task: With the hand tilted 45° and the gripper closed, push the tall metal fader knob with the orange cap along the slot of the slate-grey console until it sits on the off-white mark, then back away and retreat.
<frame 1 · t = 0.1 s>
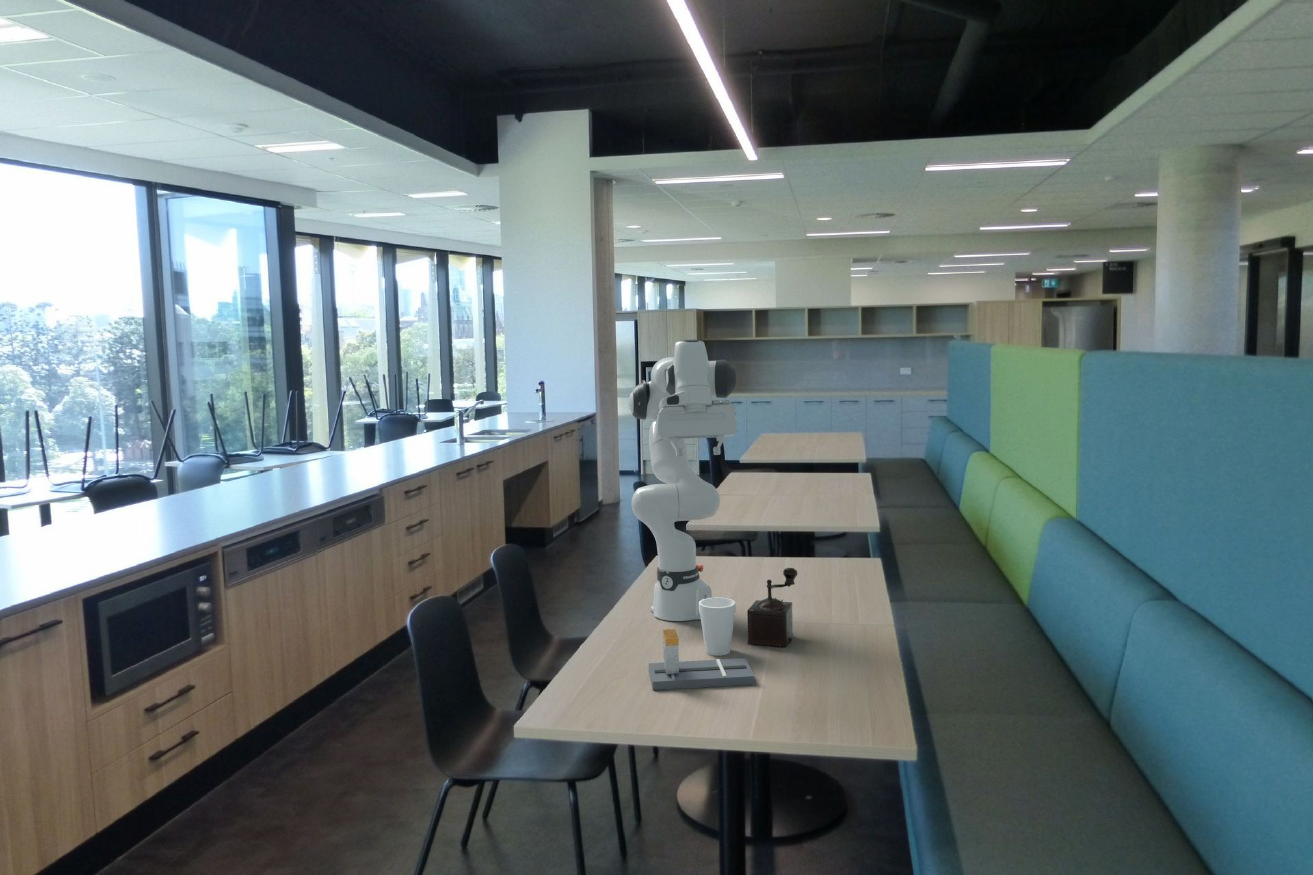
hand: (698, 455, 223), 52 cm above the table, tool tilted 20°, fingers open, 8 cm apart
fader: (670, 651, 215), point 7 cm above the table, slide at -7.0 cm
console: (700, 677, 216), on the table
manual coffee grinder: (773, 637, 244), on the table
foam cup: (717, 652, 234), on the table
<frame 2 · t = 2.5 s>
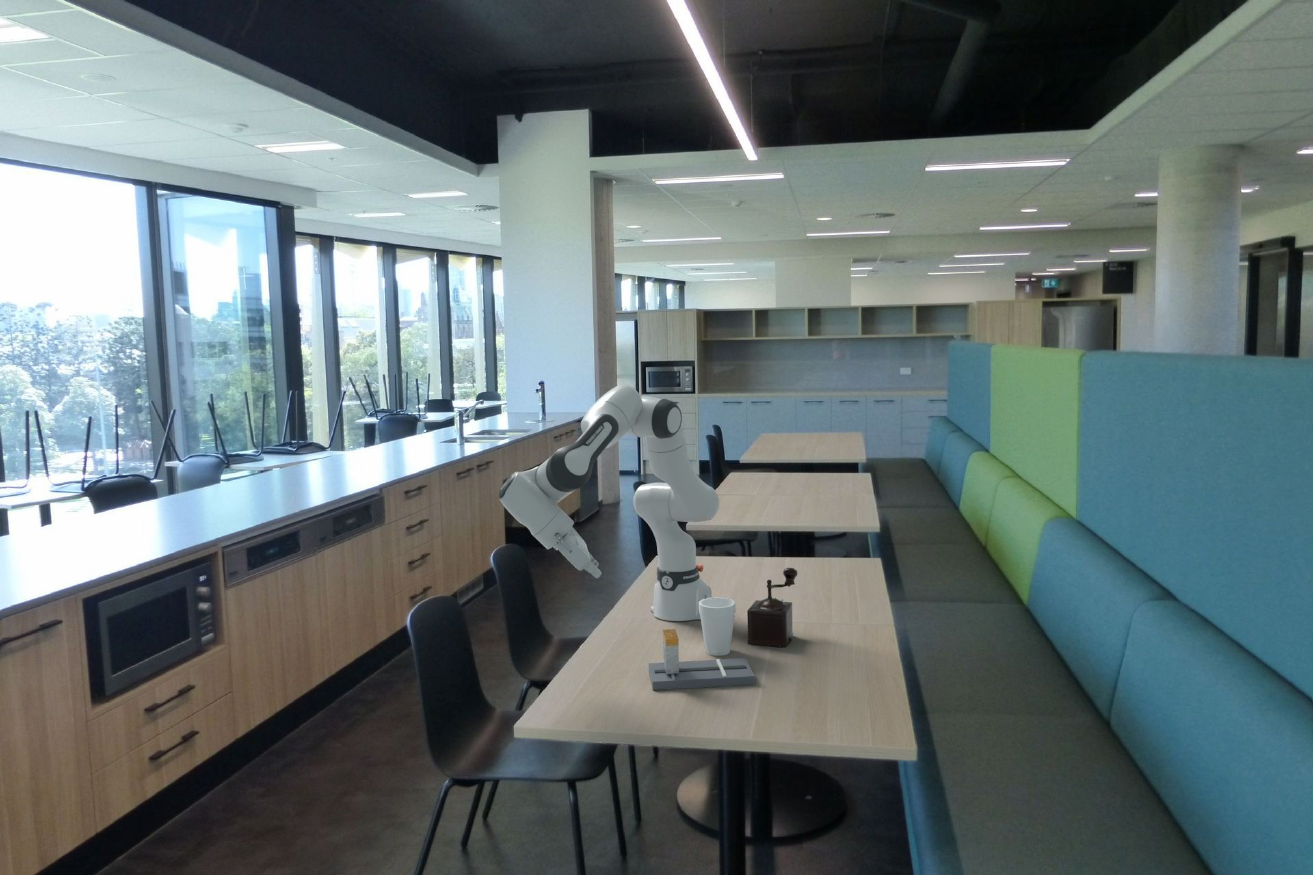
hand: (598, 571, 211), 27 cm above the table, tool tilted 45°, fingers open, 8 cm apart
nothing on the table moved.
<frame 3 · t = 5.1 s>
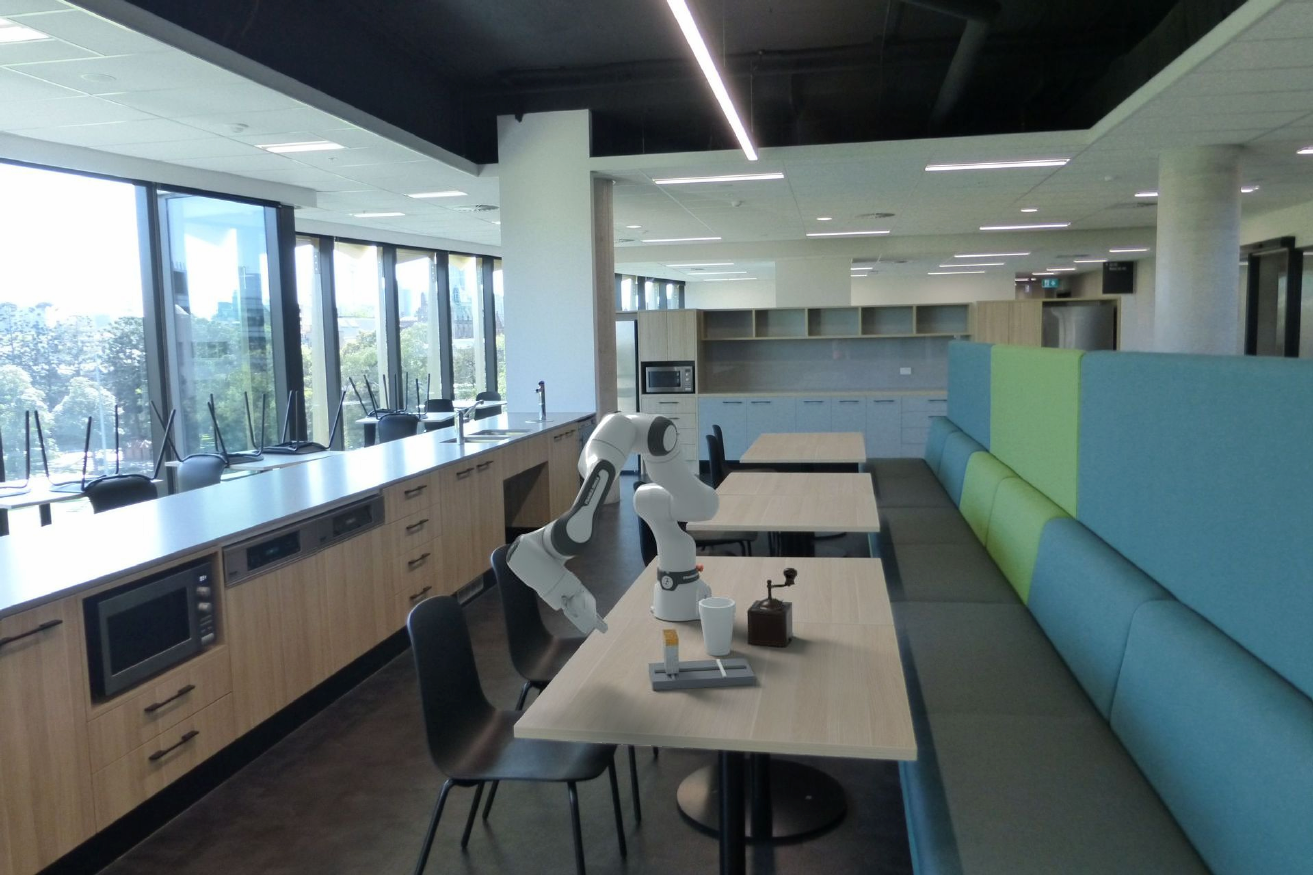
hand: (606, 629, 213), 13 cm above the table, tool tilted 45°, fingers closed
nothing on the table moved.
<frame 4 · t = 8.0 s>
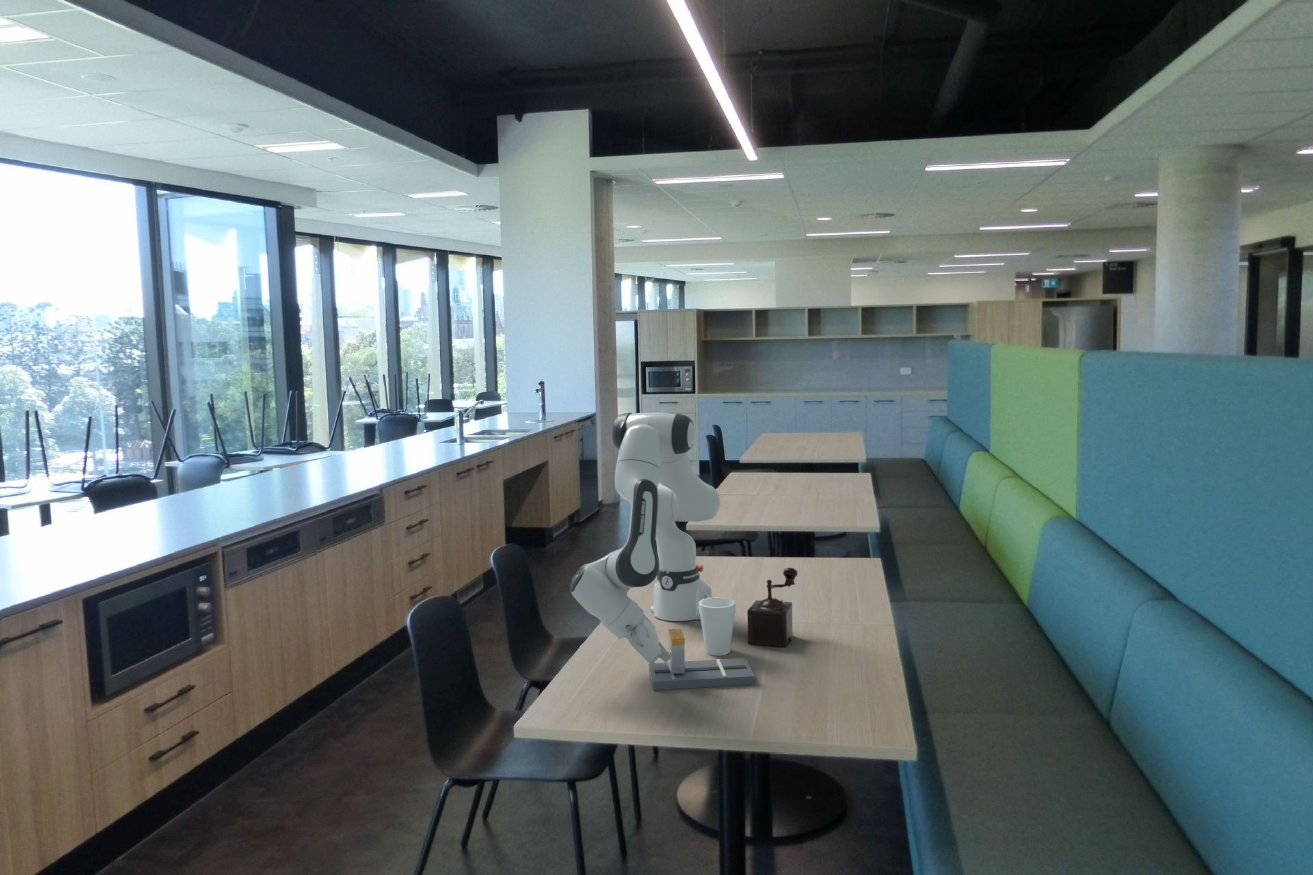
hand: (667, 657, 215), 5 cm above the table, tool tilted 45°, fingers closed, pressing on fader
fader: (676, 651, 215), point 7 cm above the table, slide at -5.6 cm, touching gripper
everything else where it was.
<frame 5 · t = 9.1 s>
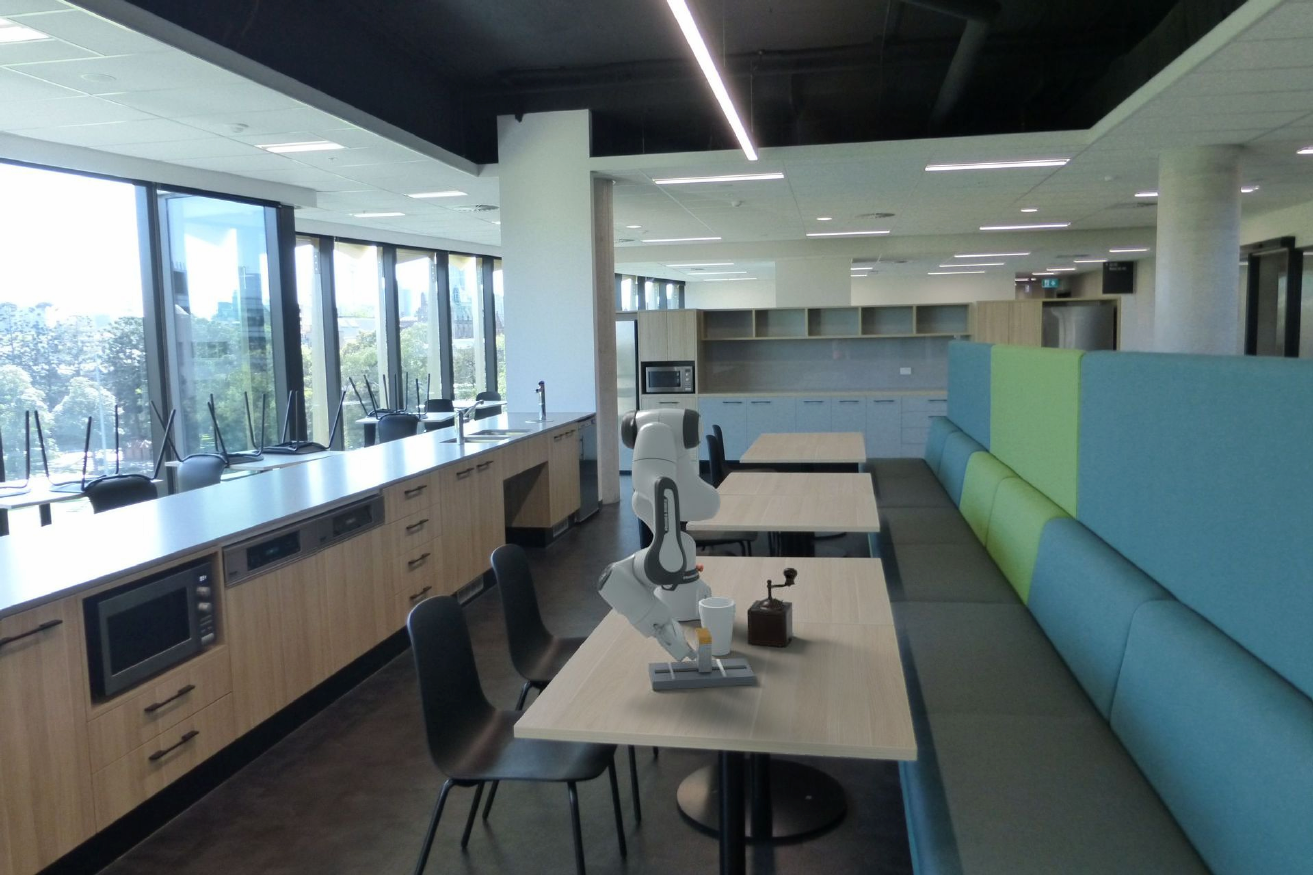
hand: (694, 656, 215), 5 cm above the table, tool tilted 45°, fingers closed, pressing on fader
fader: (703, 649, 215), point 7 cm above the table, slide at 0.8 cm, touching gripper
everything else where it was.
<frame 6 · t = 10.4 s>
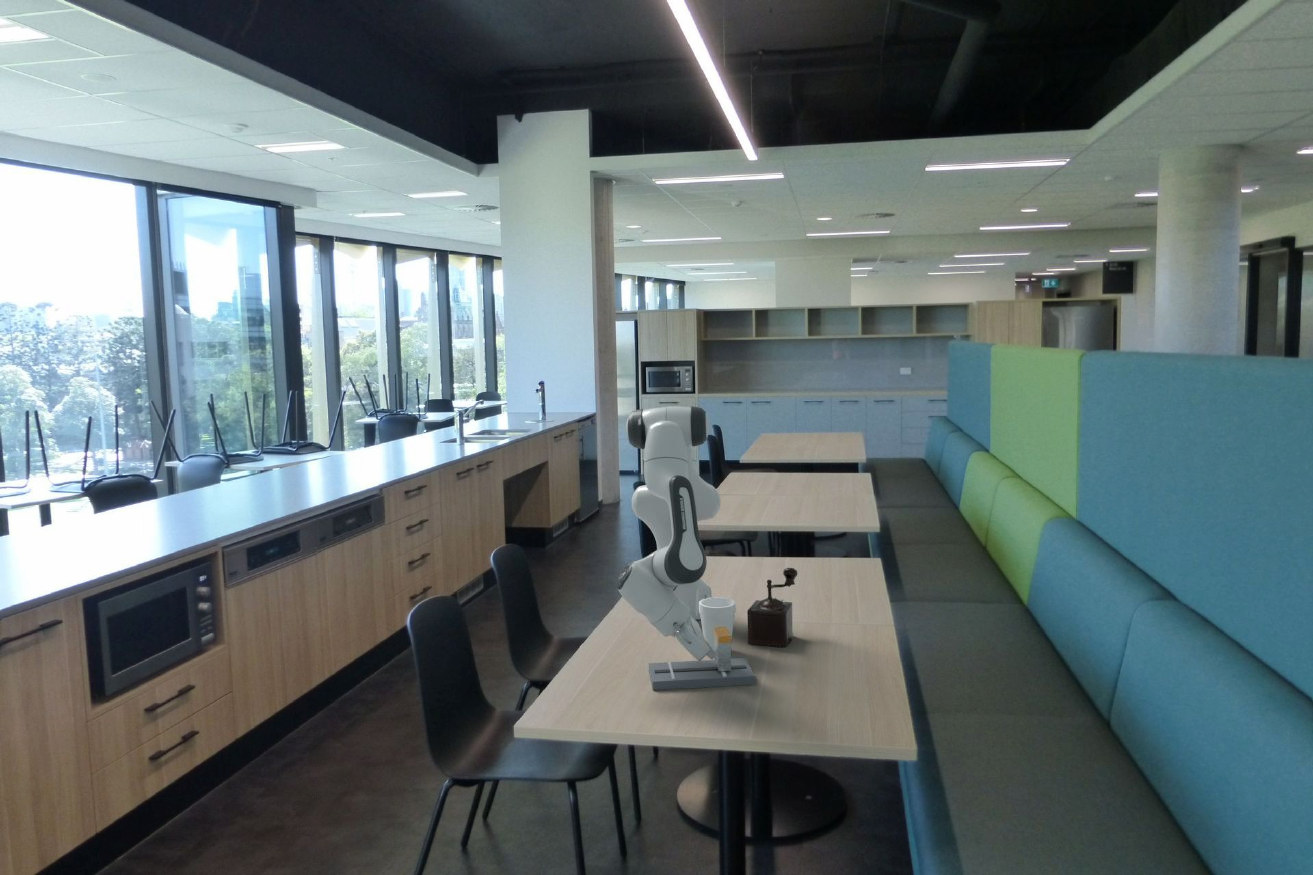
hand: (713, 655, 216), 5 cm above the table, tool tilted 45°, fingers closed, pressing on fader
fader: (722, 648, 216), point 7 cm above the table, slide at 5.4 cm, touching gripper
everything else where it was.
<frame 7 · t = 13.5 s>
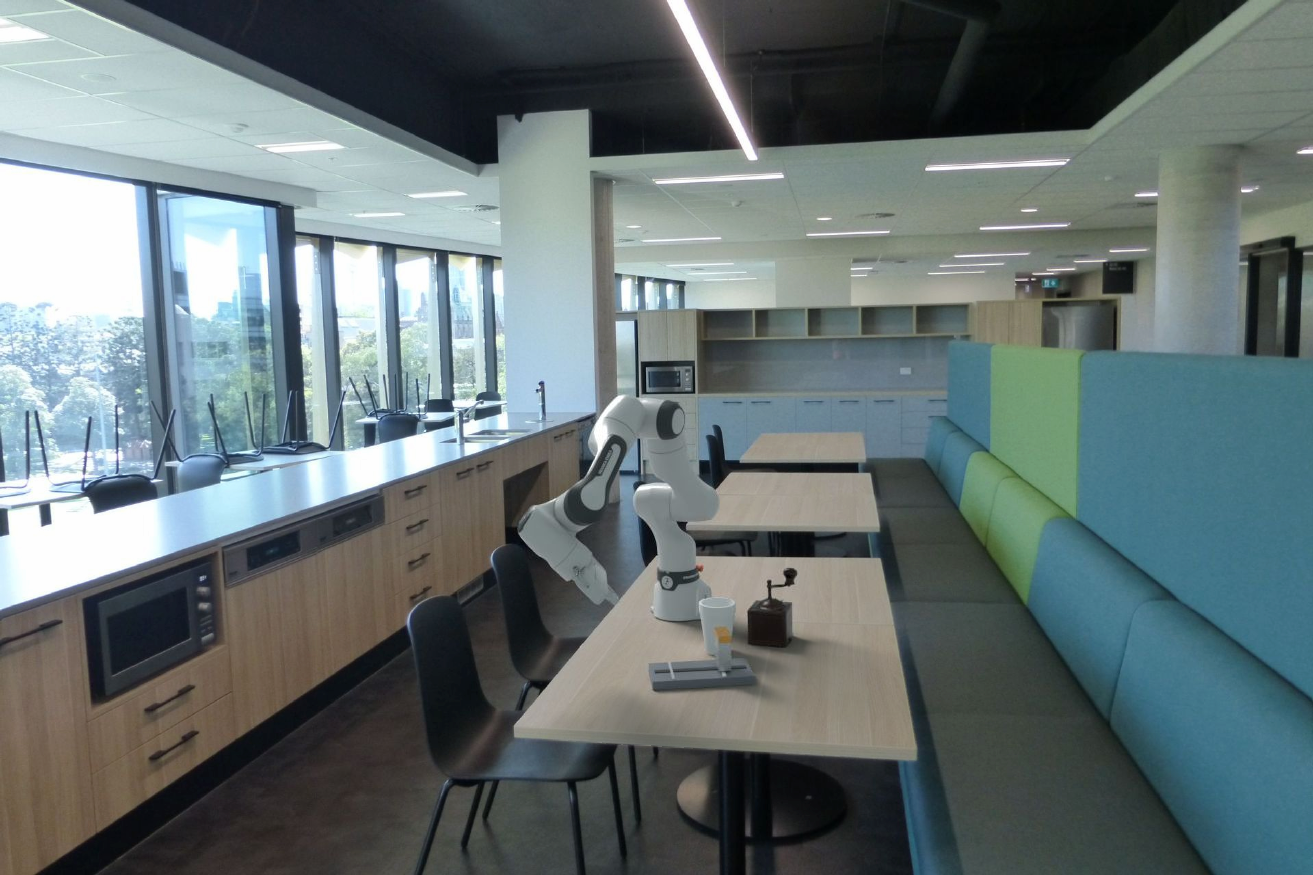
hand: (617, 601, 213), 20 cm above the table, tool tilted 45°, fingers closed
fader: (722, 648, 216), point 7 cm above the table, slide at 5.5 cm
everything else where it was.
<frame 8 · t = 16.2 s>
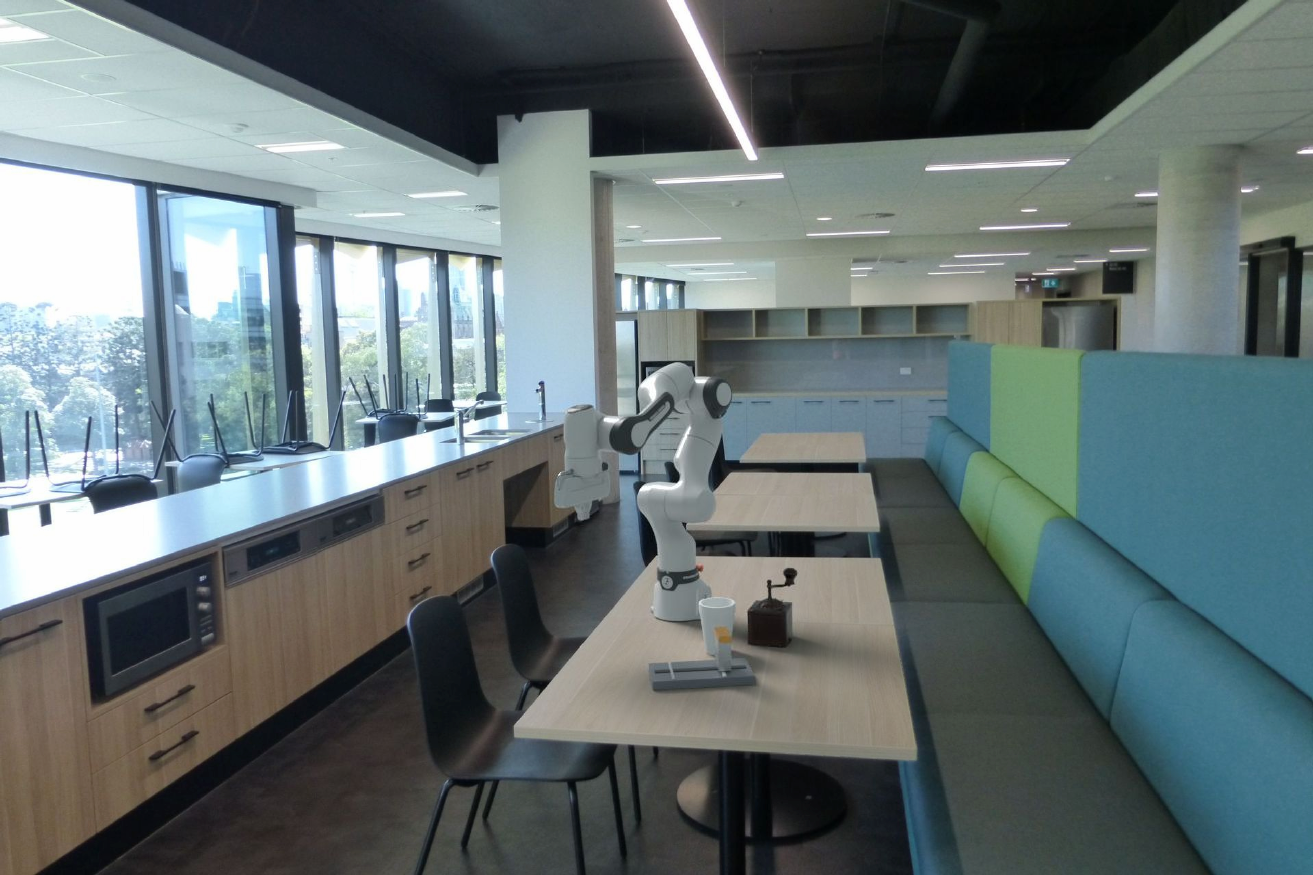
hand: (583, 519, 237), 34 cm above the table, tool pointing down, fingers closed
nothing on the table moved.
at the end: fader slide at 5.5 cm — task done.
